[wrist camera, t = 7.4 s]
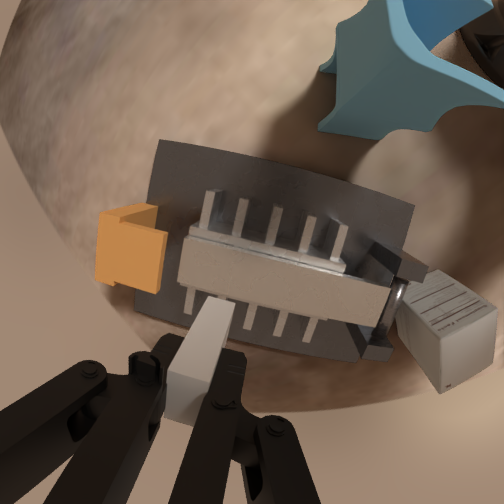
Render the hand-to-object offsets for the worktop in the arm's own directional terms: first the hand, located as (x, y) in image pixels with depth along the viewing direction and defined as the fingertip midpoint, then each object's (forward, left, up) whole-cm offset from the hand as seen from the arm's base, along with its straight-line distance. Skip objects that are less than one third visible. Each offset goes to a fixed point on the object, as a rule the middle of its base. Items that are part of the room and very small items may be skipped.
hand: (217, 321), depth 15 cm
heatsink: (0, +3, -16) cm, 17 cm away
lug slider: (0, -9, -15) cm, 17 cm away
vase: (-19, +8, -17) cm, 26 cm away
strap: (0, +5, -10) cm, 11 cm away
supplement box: (+1, +23, -17) cm, 28 cm away
